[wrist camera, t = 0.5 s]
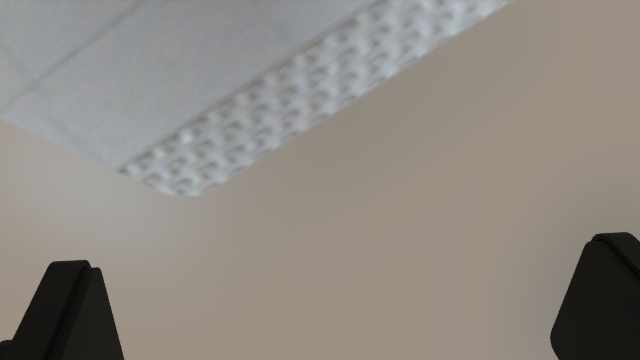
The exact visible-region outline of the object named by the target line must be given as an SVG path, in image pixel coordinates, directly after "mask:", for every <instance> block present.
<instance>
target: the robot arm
mask: <svg viewBox="0 0 640 360" xmlns="http://www.w3.org/2000/svg"><path fill="white" fill-rule="evenodd" d="M550 340H551V345H552V348H553V350H554V352H555V354H556V356H557V357H558V359H559V360H640V242H639V241H638V240H637V239H636V238H635V237H634V236H633V235H632V234H630V233H627V232H620V233H602V234H596V235H595V236H594V237H593V238H592V240H591V241H590V242H588V243H587V244H586V245H585V246H584V249H583V251H582V254H581V256H580V259H579V262H578V264H577V267H576V269H575V272H574V274H573V277H572V279H571V282H570V285H569V287H568V290H567V292H566V295H565V297H564V300H563V303H562V305H561V308H560V310H559V313H558V315H557V318H556V321H555V323H554V326H553V328H552V331H551V335H550ZM0 360H124V357H123V352H122V349H121V345H120V341H119V337H118V333H117V330H116V326H115V322H114V318H113V314H112V310H111V306H110V303H109V299H108V295H107V291H106V287H105V283H104V279H103V276H102V272H101V270H100V268H97V267H96V268H91V266H90V264H89V262H88V261H87V260H75V261H55V262H52V263H51V264H50V265H49V266H48V268H47V270H46V272H45V274H44V276H43V278H42V280H41V282H40V284H39V286H38V288H37V291H36V292H35V295H34V297H33V299H32V301H31V303H30V305H29V307H28V309H27V311H26V313H25V315H24V317H23V319H22V321H21V323H20V325H19V327H18V329H17V331H16V333H15V335H14V337H13V339H12V340H5V341H2V342H0Z"/></svg>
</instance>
